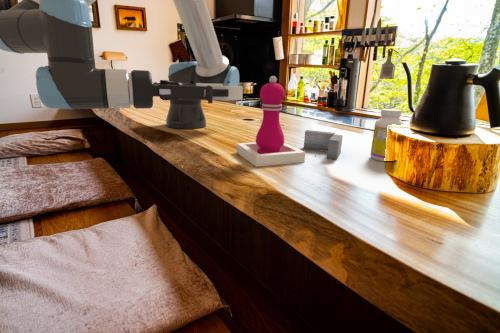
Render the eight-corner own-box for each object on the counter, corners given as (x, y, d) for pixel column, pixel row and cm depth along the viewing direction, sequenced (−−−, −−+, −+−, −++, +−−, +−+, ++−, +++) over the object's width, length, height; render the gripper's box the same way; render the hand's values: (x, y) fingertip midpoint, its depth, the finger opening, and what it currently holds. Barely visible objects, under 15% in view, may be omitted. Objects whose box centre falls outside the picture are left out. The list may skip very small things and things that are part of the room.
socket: (236, 152, 81) (236, 143, 80) (279, 149, 86) (280, 140, 85) (255, 166, 70) (256, 156, 69) (304, 161, 74) (305, 152, 74)
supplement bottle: (376, 154, 84) (383, 107, 80) (401, 159, 80) (410, 110, 76) (365, 158, 79) (372, 109, 76) (391, 164, 75) (400, 111, 71)
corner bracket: (300, 147, 89) (301, 130, 88) (321, 145, 92) (323, 129, 91) (331, 160, 76) (333, 141, 75) (354, 158, 79) (356, 139, 78)
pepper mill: (281, 162, 74) (287, 76, 68) (252, 159, 75) (255, 75, 69) (284, 154, 80) (289, 76, 74) (257, 152, 82) (260, 75, 76)
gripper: (130, 102, 73) (215, 102, 81) (135, 116, 51) (251, 114, 59) (128, 70, 71) (215, 73, 78) (131, 69, 49) (253, 74, 56)
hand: (231, 91), depth 69 cm, fingers open, 13 cm apart
